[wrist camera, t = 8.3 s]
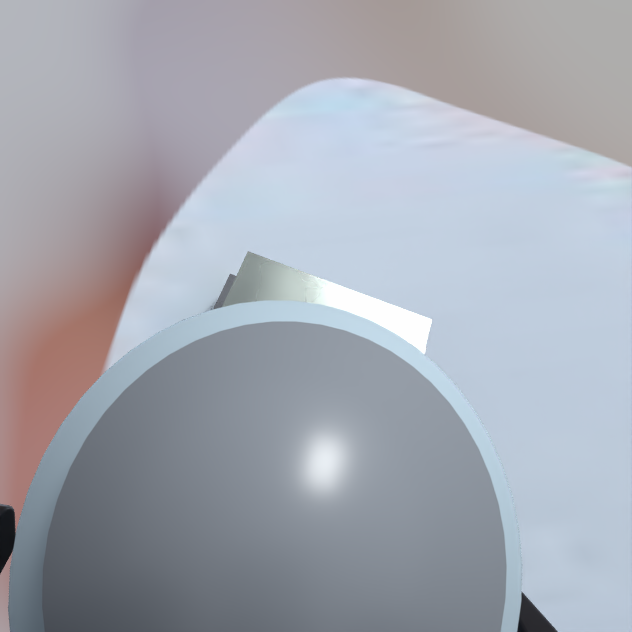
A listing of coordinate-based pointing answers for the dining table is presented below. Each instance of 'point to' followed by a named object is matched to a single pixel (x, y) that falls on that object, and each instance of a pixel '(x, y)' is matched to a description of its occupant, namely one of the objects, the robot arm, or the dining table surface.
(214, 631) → the grey capped canister
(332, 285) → the motor mount
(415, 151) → the dining table surface
